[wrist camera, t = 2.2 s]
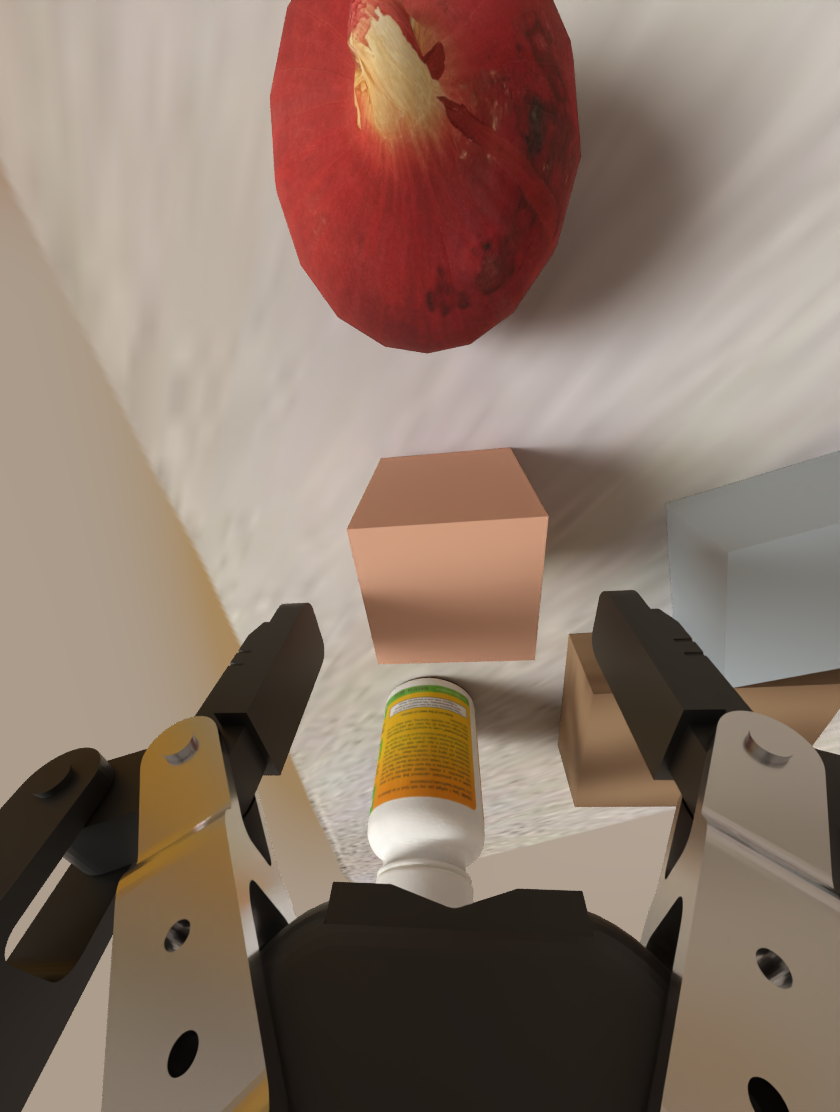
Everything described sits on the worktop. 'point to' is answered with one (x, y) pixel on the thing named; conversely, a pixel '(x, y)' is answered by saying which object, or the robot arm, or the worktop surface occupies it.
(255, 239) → the worktop surface
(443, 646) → the terracotta block
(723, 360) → the worktop surface
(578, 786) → the walnut block
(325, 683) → the worktop surface
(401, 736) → the supplement bottle
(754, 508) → the slate block
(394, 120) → the red oval lump
